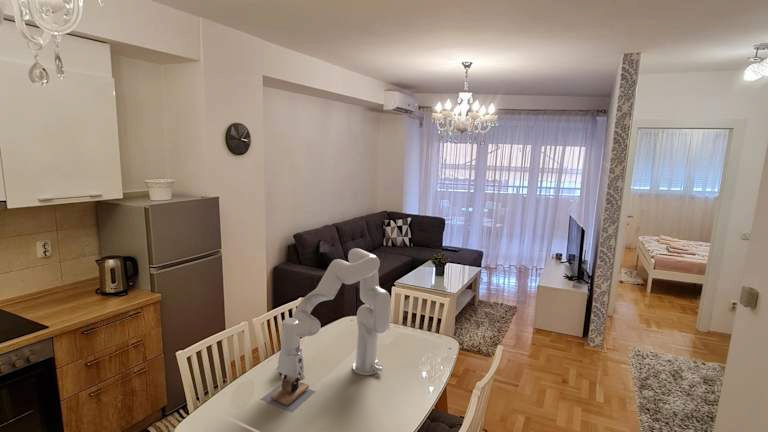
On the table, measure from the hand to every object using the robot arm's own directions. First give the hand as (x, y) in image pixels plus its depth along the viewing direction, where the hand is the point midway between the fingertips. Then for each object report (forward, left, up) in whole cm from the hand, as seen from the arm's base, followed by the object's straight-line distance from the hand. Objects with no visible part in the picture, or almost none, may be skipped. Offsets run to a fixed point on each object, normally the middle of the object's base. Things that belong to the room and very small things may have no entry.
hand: (290, 388), depth 169 cm
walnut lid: (0, 0, -2) cm, 2 cm away
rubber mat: (0, 0, -3) cm, 3 cm away
